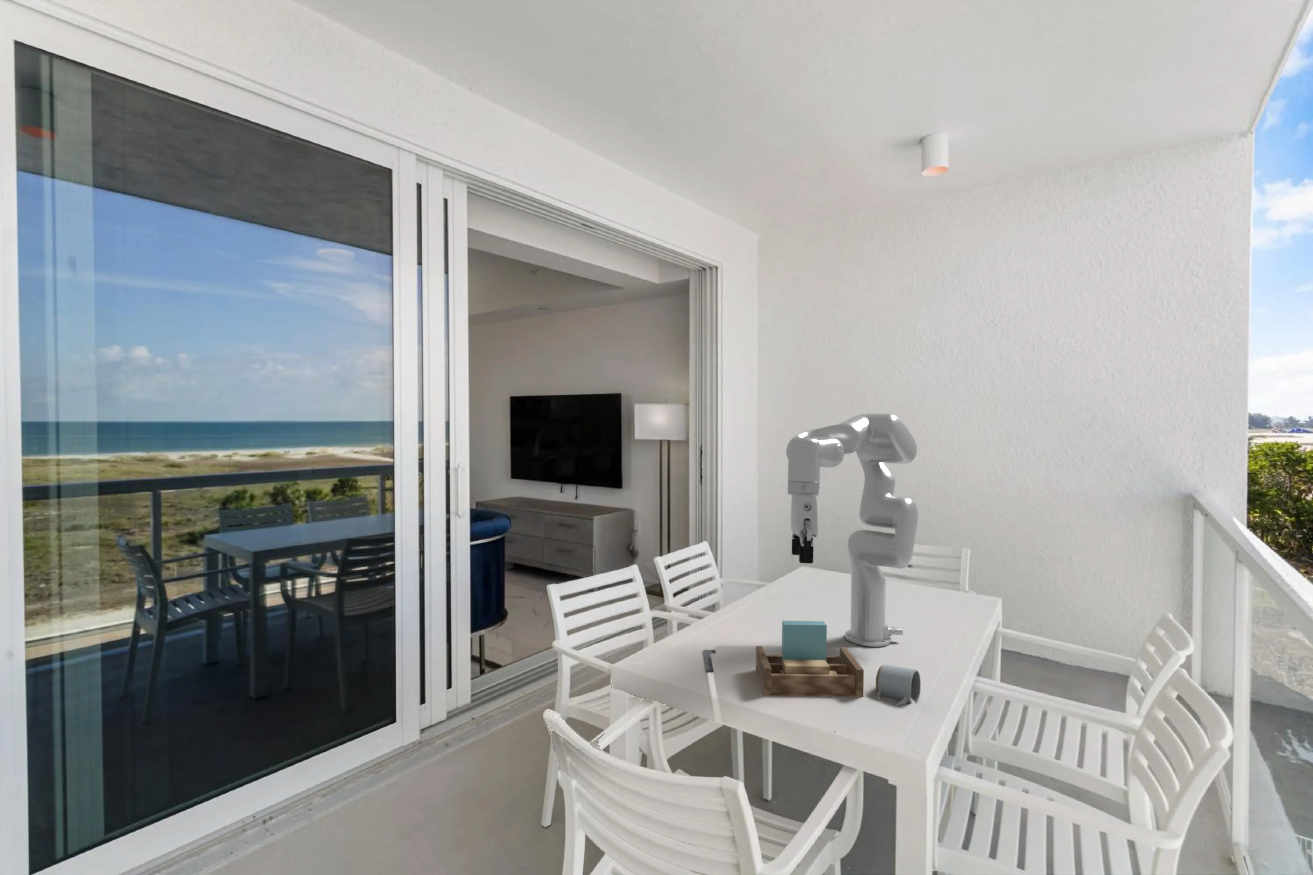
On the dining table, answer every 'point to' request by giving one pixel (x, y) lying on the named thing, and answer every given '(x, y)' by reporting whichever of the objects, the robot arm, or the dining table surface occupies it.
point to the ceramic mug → (898, 683)
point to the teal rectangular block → (804, 640)
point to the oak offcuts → (806, 667)
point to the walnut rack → (811, 677)
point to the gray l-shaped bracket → (709, 660)
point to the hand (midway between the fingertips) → (802, 558)
